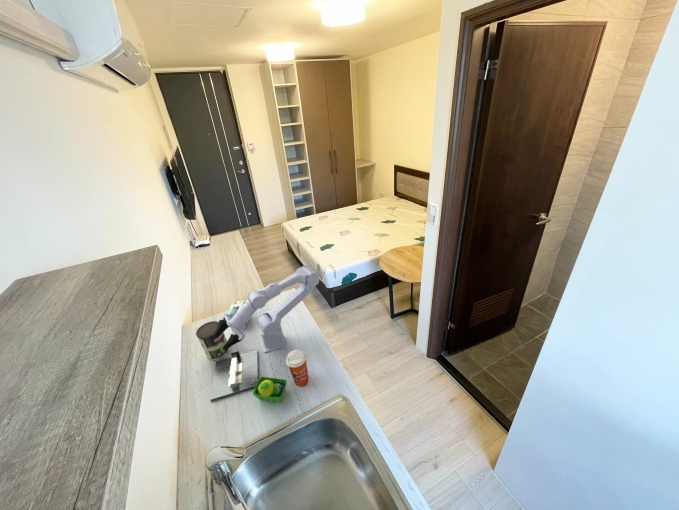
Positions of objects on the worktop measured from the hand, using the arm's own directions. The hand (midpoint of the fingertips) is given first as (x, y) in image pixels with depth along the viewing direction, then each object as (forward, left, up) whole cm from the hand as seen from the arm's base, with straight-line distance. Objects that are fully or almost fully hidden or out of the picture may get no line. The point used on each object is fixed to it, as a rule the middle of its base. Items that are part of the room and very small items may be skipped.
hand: (219, 343), depth 112 cm
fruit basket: (-17, +21, -15) cm, 30 cm away
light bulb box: (-4, -27, -15) cm, 32 cm away
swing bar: (-3, +5, -13) cm, 14 cm away
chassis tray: (-3, +5, -15) cm, 16 cm away
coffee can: (+6, -11, -15) cm, 20 cm away
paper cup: (-29, +18, -15) cm, 37 cm away
